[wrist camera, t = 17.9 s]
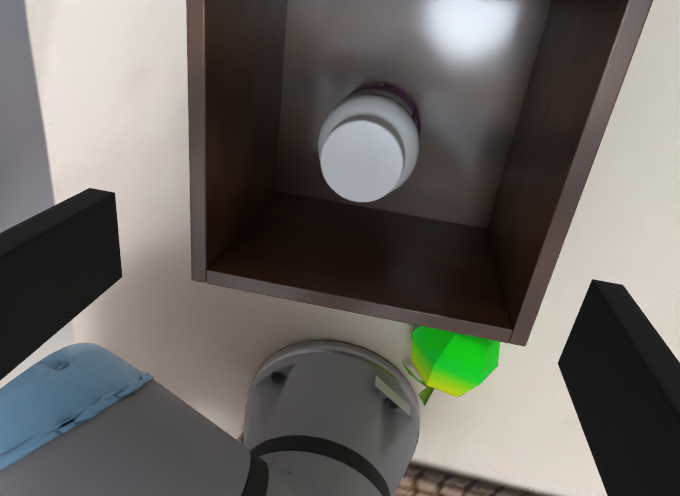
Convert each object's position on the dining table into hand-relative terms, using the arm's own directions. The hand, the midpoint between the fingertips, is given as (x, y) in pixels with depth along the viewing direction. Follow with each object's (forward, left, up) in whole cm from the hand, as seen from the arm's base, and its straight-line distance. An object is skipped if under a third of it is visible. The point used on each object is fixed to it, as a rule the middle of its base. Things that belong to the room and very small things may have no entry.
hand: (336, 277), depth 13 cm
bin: (+1, 0, -21) cm, 21 cm away
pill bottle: (0, +1, -20) cm, 20 cm away
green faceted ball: (-16, -7, -21) cm, 27 cm away
